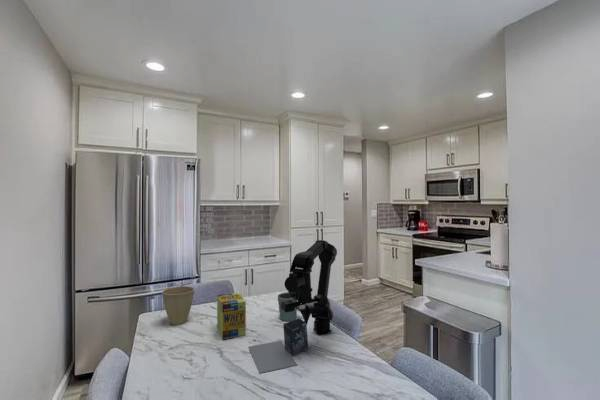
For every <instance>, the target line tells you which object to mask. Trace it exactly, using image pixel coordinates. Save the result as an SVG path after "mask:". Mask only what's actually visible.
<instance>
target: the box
mask: <svg viewBox="0 0 600 400" xmlns="http://www.w3.org/2000/svg"><path fill="white" fill-rule="evenodd" d="M307 326H308V323H306V322H304V319H302V318H296V320H294V321H291V322H284V323H283V337H284V338H283V339H284V341H283V342H284V346H285V350H286V351H288V352H289V353H290V354H291V356H293V355H296V354H297V353H301V352H302V351H305V350H308V349H309V339H308V327H307Z"/></svg>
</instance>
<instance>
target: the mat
mask: <svg viewBox="0 0 600 400" xmlns="http://www.w3.org/2000/svg"><path fill="white" fill-rule="evenodd" d="M247 348H248V349H249V352H250V355H251V357H252V359H253V362H254V364H255V366H256V369H257V371H258V374H260V375H261V374H265V373H270V372H273V371H274V372H275V371H278V370H283V369H287V368H292V367H296V366H298V363H297V361H296V360H295V359H294V356H293V355H291V354H290V353H289V352H288V351H286V350H285V343H283V341H282V340H277V341H271V342H267V343H266V342H265V343H262V344H261V343H260V344H255V345H250V346H249V345H248V347H247Z"/></svg>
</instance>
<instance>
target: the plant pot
mask: <svg viewBox="0 0 600 400" xmlns="http://www.w3.org/2000/svg"><path fill="white" fill-rule="evenodd" d="M161 294H162V299H163V301H162V302H163V304H164V305H163V306H164V309H165V310H164V311H165V313H166V315H167V318H168V321H169V323H170V325H173V326H179V325H182V324H185V323H186V322H187V321H188V317H189V315H190V313H191V312H190V311H191V309H192V304H193V300H194V294H195V287H193V286H189V285H188V286H185V285H183V286H182V285H181V286H175V287H169V288H166V289H164V290H163V291H162V292H161Z"/></svg>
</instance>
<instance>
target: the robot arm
mask: <svg viewBox="0 0 600 400" xmlns="http://www.w3.org/2000/svg"><path fill="white" fill-rule="evenodd" d="M337 255H338V249H337V247H336V246H335V245H334V244H331V243H329V242H328V241H327V240H322V239H320V240H319V239H317V240H315V242H314V243H313V244H312V245H311V246H310V247H308V249H307V250H305V251H301V252H298V253H296V254H295V255H294V257H293V259H292V261H291V262H292V263H291V266H290V269H289V274H288V276H287V278H286V279H285V280H284V281H285V282H284V287H285V289H286V291H288V295H289V298H291V297H293V300H294V299H295V300H297V302H292V301H291V300H287V301H282V303H281V309H282V310H283V311H285V312H292V311H294V310H295V307H296V309H297V311H299V312H300V313H301V316H302V320H303V321H304V322H306V323H307V324H308V322H309V319H310V317H311V318H312V319H314V321H313V331H315V333H316V334H317V335H319V336H323V335H327V334H332V333H333V332H332V330H331V321H333V317H334V311H333V310H332V309H331V303H330V300H329V298H328V293H329V287H330V284H329V283H330V278H331V277H330V276H331V268H332V264H334V262H335V261H336V257H337ZM317 257H318V259H319V262H320V267H319V269H320V270H319V276H318V277H319V278H318V286H317V292H316V294H315V295H314V296H312V292H313V288H312V280H311V277H312V276H311V273H312V272H313V270H312V268H313V266H314V265H315V259H316V258H317ZM312 297H313V298H312Z"/></svg>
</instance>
